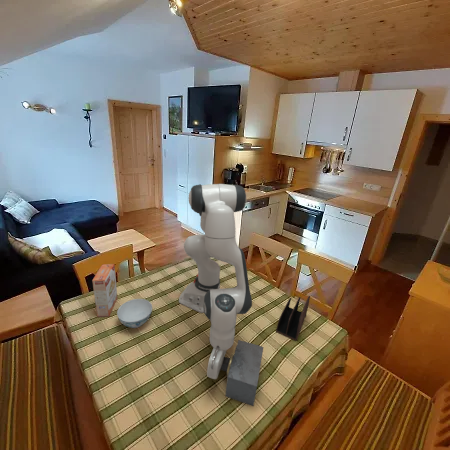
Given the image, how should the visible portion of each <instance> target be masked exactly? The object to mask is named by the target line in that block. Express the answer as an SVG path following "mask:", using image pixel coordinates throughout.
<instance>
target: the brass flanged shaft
mask: <svg viewBox="0 0 450 450" xmlns="http://www.w3.org/2000/svg"><path fill="white" fill-rule="evenodd" d="M233 357H234V354H231V355H230V357H226V356H225V357H224V360H223V362H222V365H221V368H220V371H224V372H226V377H228V373H229V370H230V367H231V363H232V360H233Z"/></svg>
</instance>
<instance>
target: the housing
mask: <svg viewBox="0 0 450 450" xmlns="http://www.w3.org/2000/svg"><path fill="white" fill-rule="evenodd" d="M263 352H264V346H262V345H261V346H260V345H257V344H254V343H251V342H249V341H248V342H247V341H244V340H241V339H238V341H237V344H236V347H235V350H234V354H233V355H234V357H233V360H232V363H231V367H230V370H229V373H228V377H227V376H226V377H227V378H226V379H227V380H226V386H225V387H226V388H225V397H227V398H230V399H231V400H235V401H237V402H240V403H243V404H247V405H249V406H252V407H254V405H255V399H256V393H257V387H258V383H259V382H258V381H259V378H260V377H259V376H260V371H261V365H262V359H263V355H264V354H263Z"/></svg>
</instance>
